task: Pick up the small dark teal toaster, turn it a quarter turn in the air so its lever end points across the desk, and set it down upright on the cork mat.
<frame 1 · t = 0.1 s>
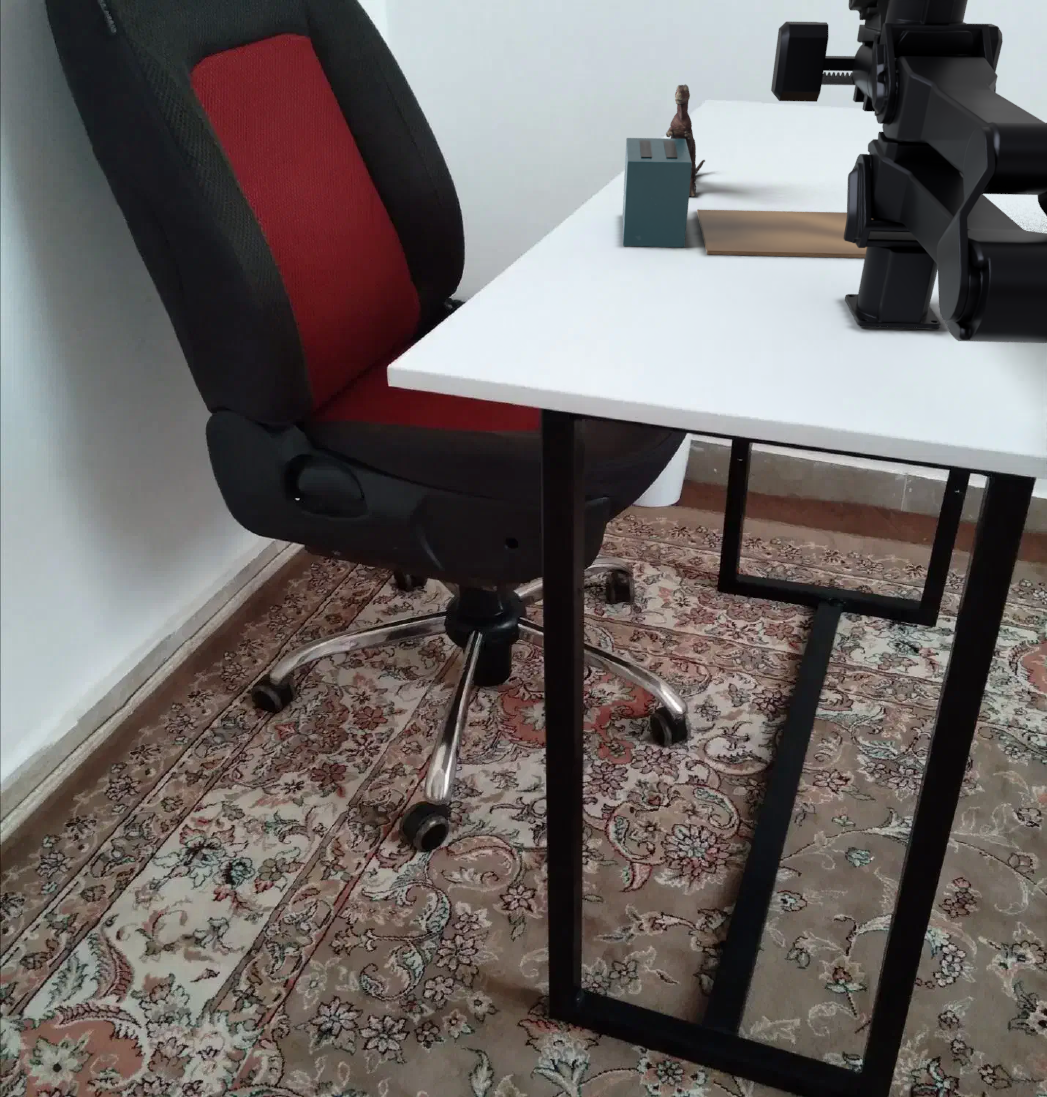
hand: (864, 49, 97), 17 cm above the table, tool horizontal, fingers open, 9 cm apart
mat: (811, 234, 104), on the table
toaster: (652, 231, 105), on the table
dinosaur model: (684, 187, 120), on the table
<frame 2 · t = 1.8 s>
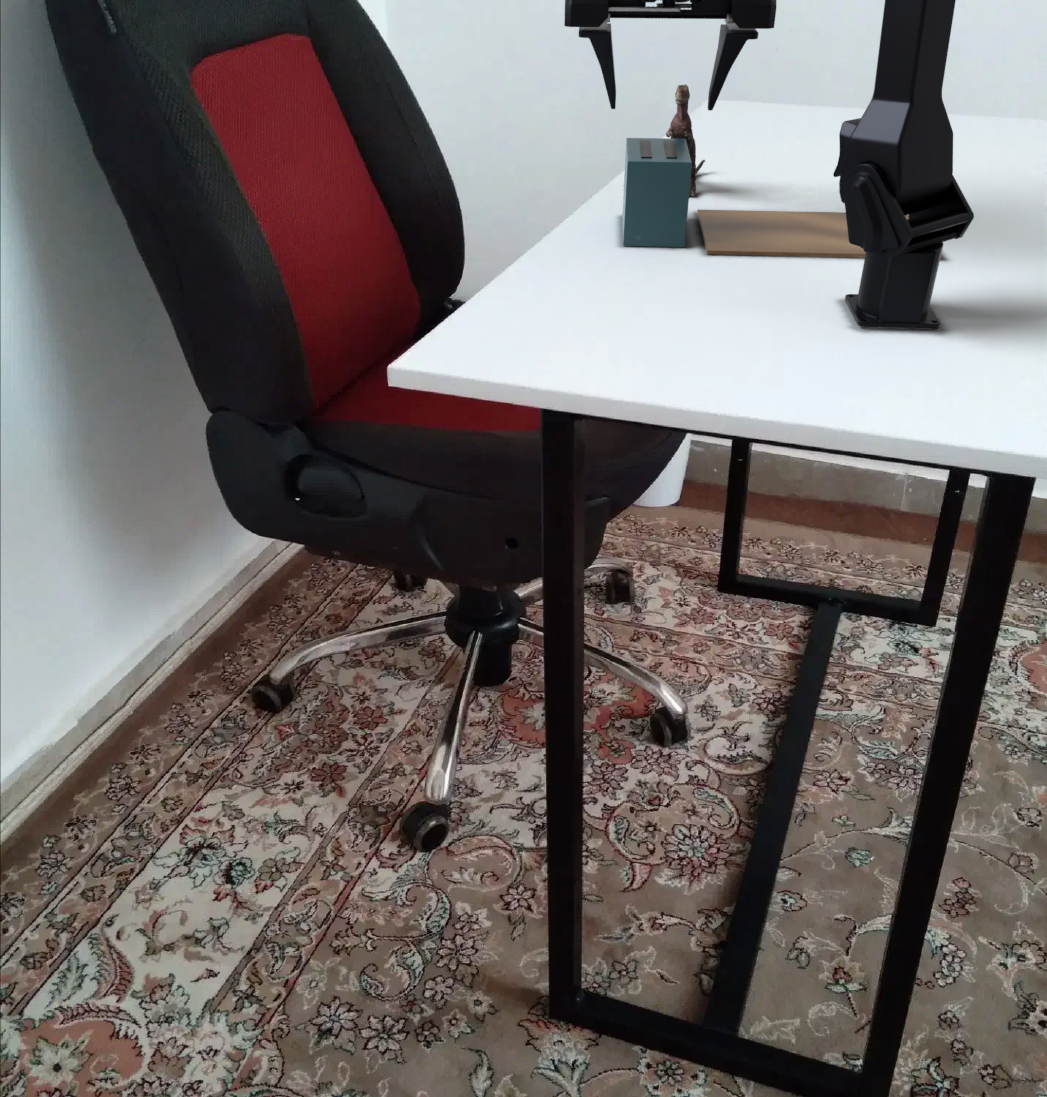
hand: (661, 108, 98), 12 cm above the table, tool pointing down, fingers open, 9 cm apart
nothing on the table moved.
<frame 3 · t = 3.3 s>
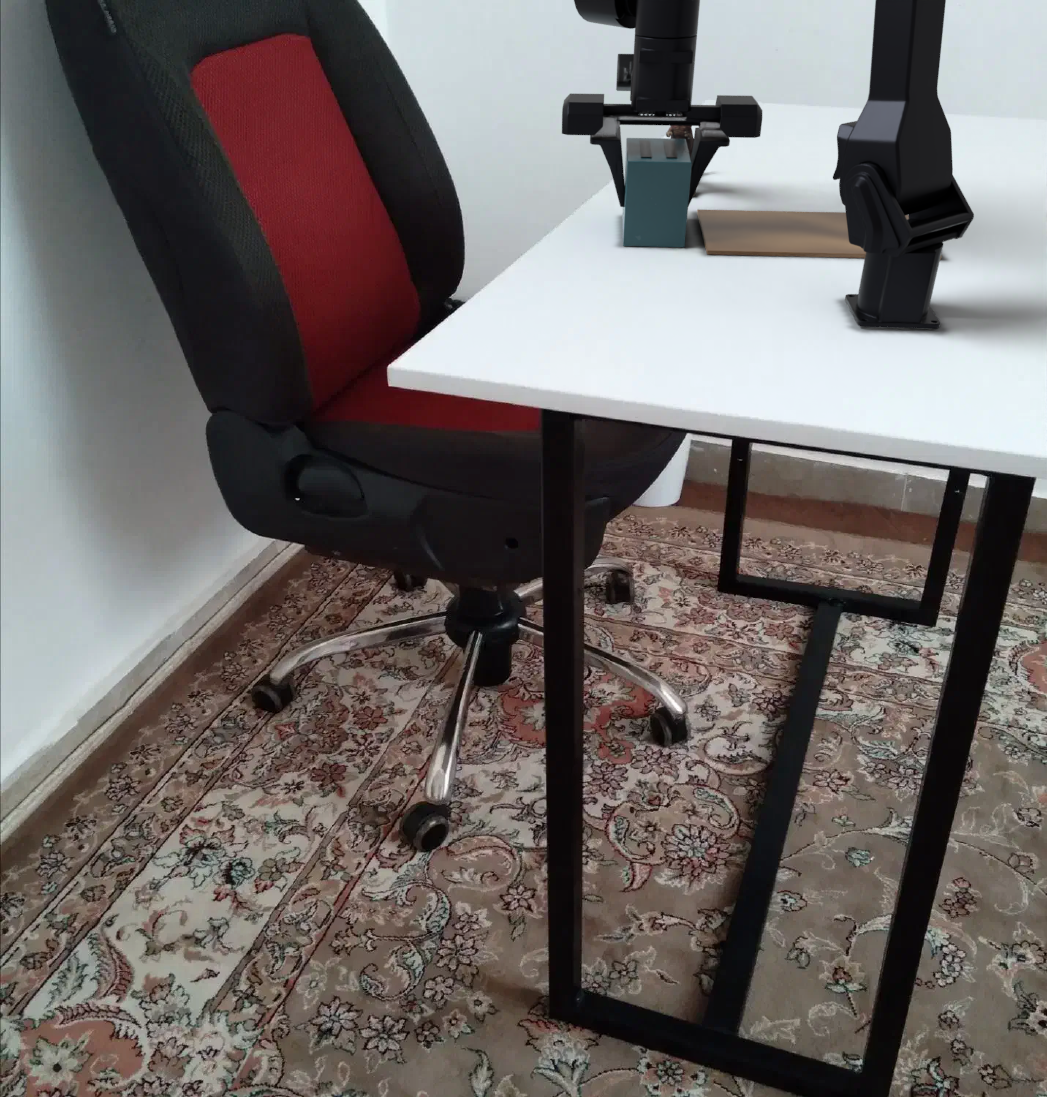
hand: (654, 206, 104), 3 cm above the table, tool pointing down, fingers closed on toaster, 6 cm apart
toaster: (652, 231, 105), on the table, touching gripper
everything else where it was.
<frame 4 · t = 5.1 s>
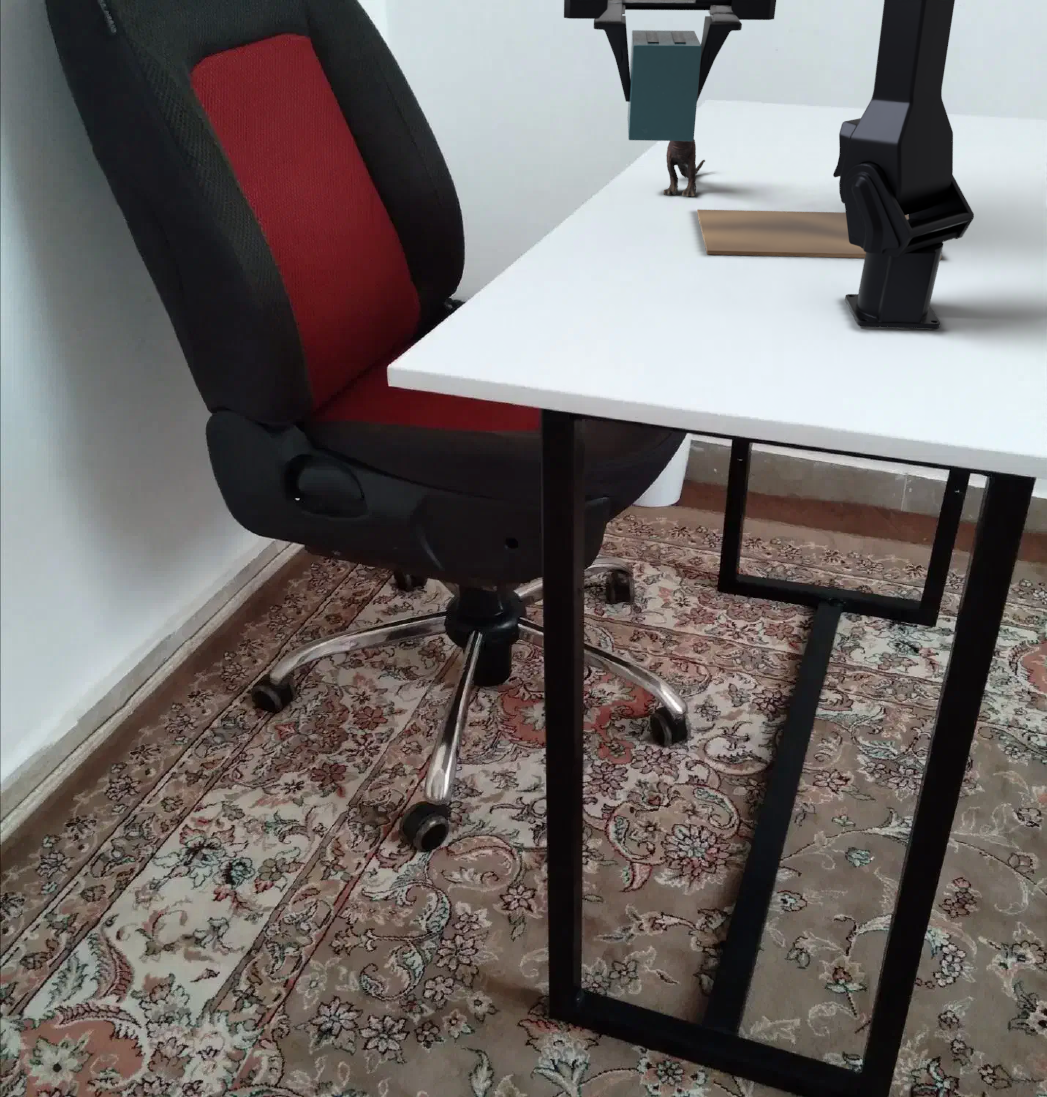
hand: (661, 101, 98), 12 cm above the table, tool pointing down, fingers closed on toaster, 6 cm apart
toaster: (659, 129, 100), point 10 cm above the table, touching gripper
everything else where it was.
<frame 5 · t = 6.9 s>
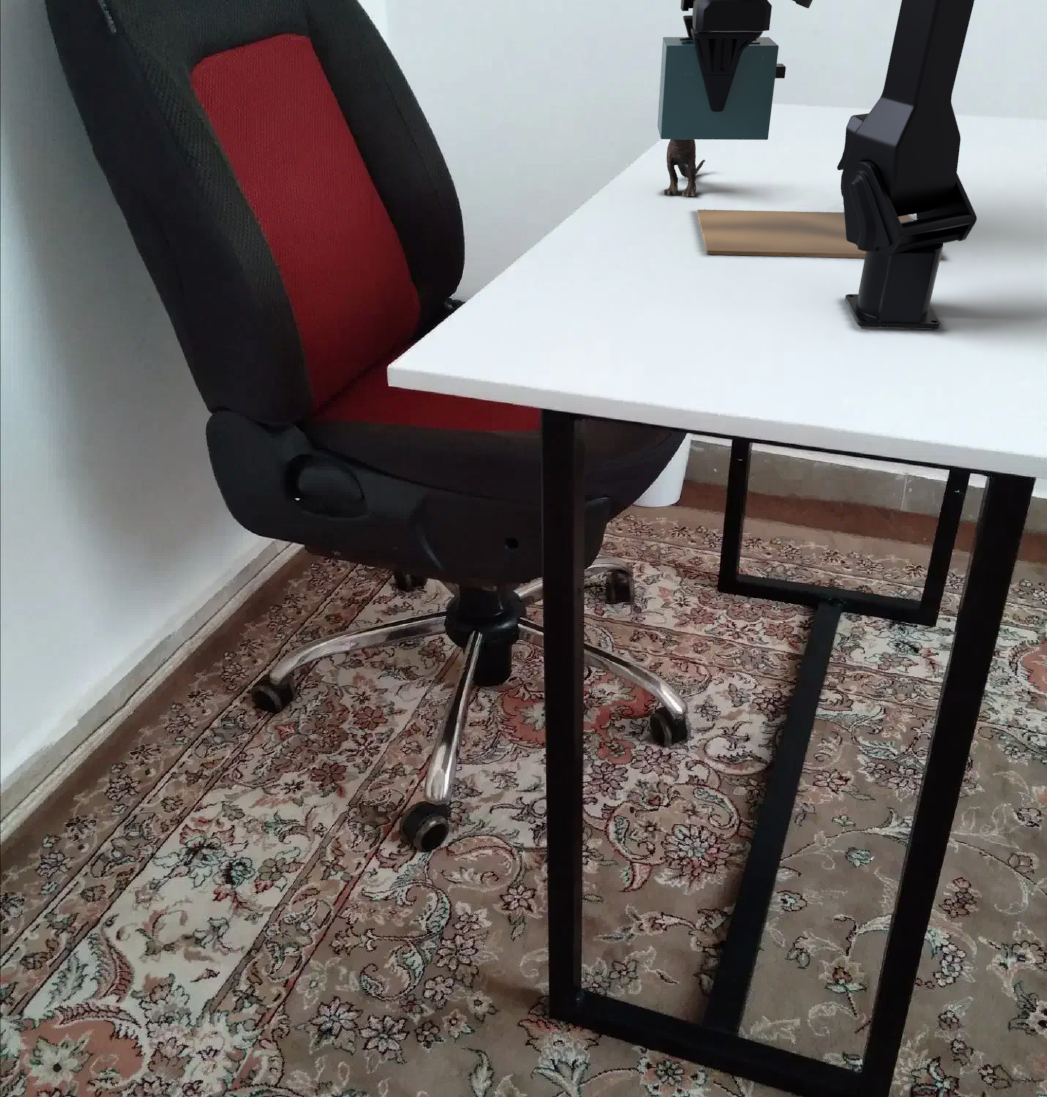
hand: (713, 104, 98), 12 cm above the table, tool pointing down, fingers closed on toaster, 6 cm apart
toaster: (711, 133, 99), point 10 cm above the table, touching gripper
everything else where it was.
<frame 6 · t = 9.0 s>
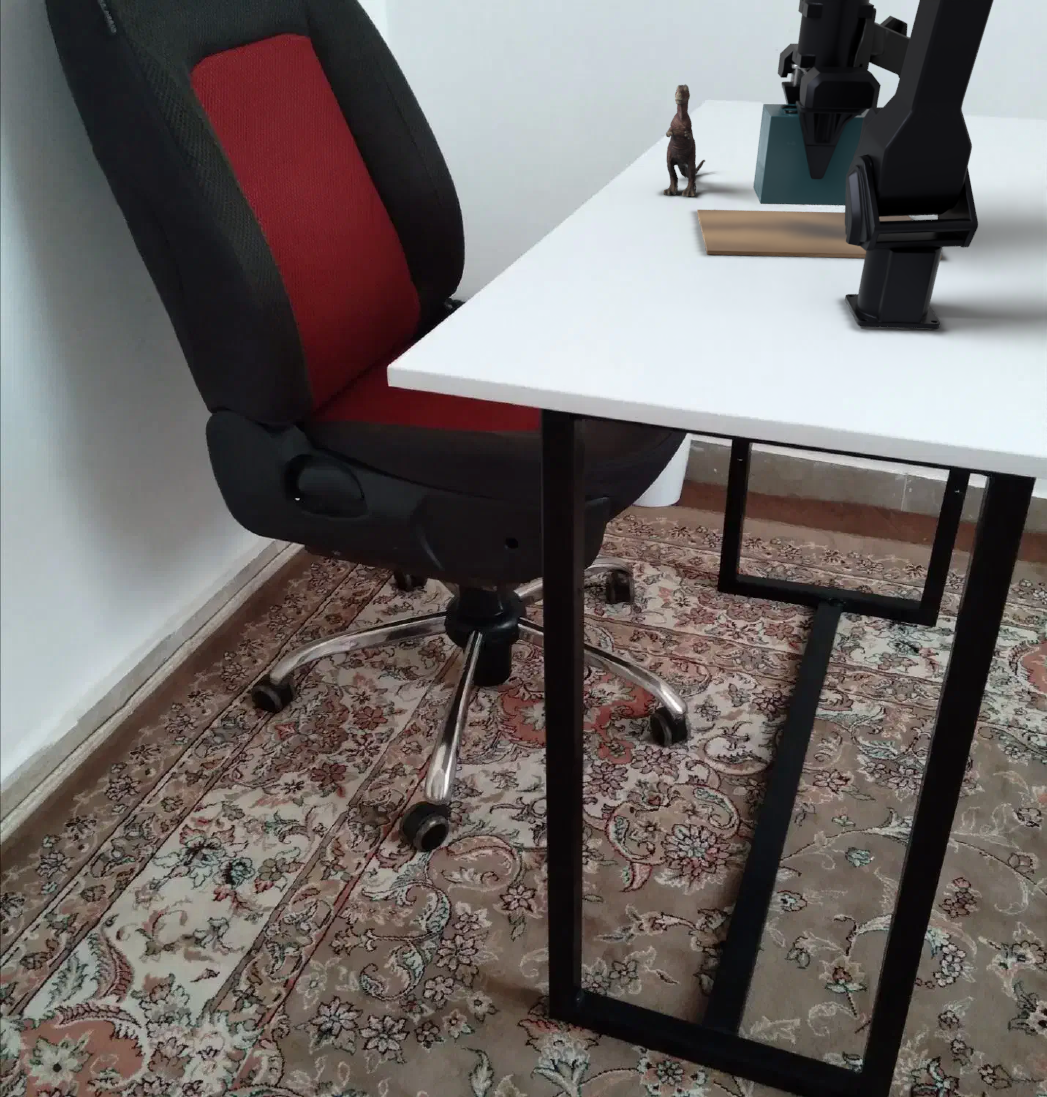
hand: (811, 170, 101), 6 cm above the table, tool pointing down, fingers closed on toaster, 6 cm apart
toaster: (807, 196, 102), point 4 cm above the table, touching gripper
everything else where it was.
when the fingers open (3 cm above the table, at t = 10.4 s): toaster stays where it is, resting on mat.
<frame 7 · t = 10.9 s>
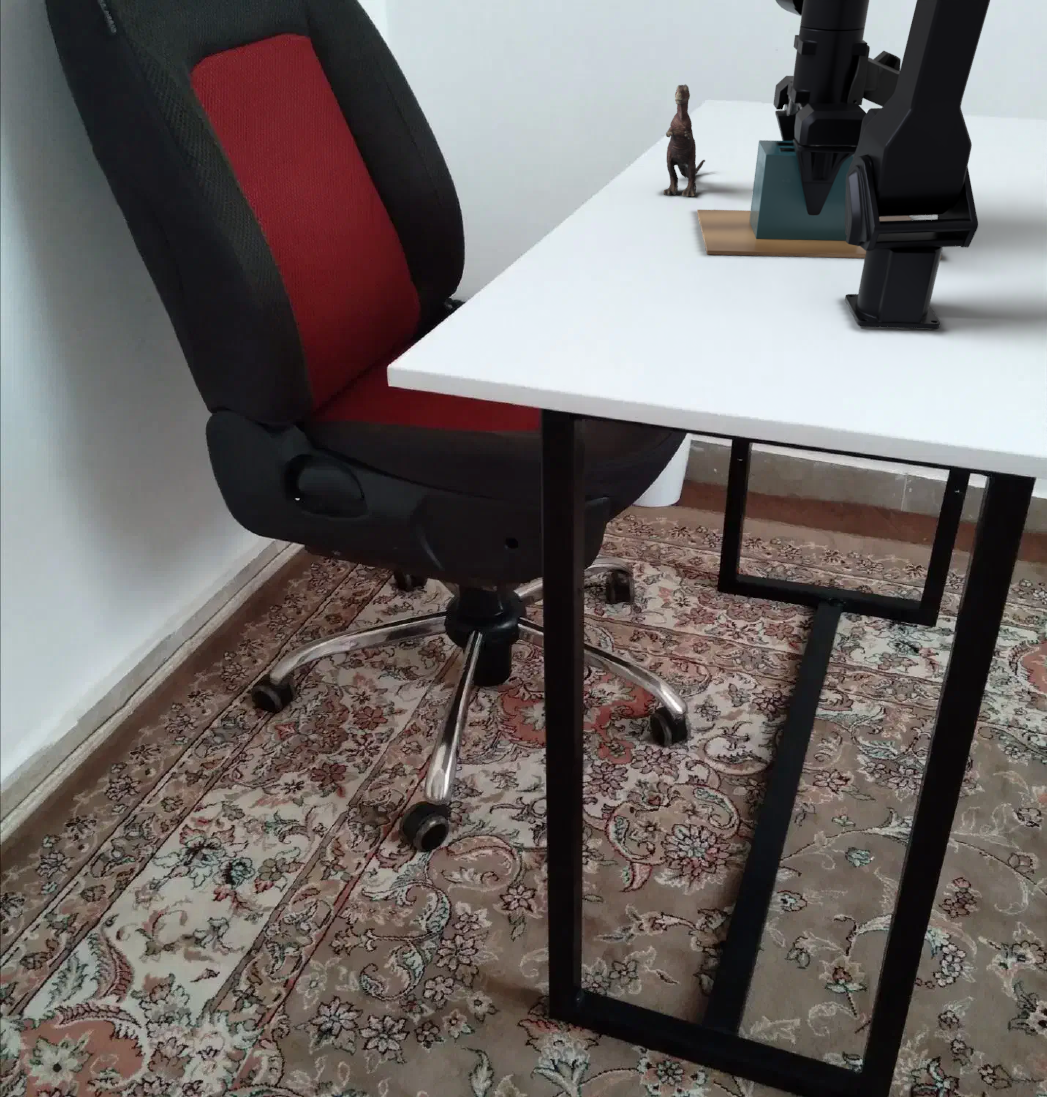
hand: (806, 201, 102), 3 cm above the table, tool pointing down, fingers open, 9 cm apart
toaster: (802, 231, 104), resting on mat
everything else where it was.
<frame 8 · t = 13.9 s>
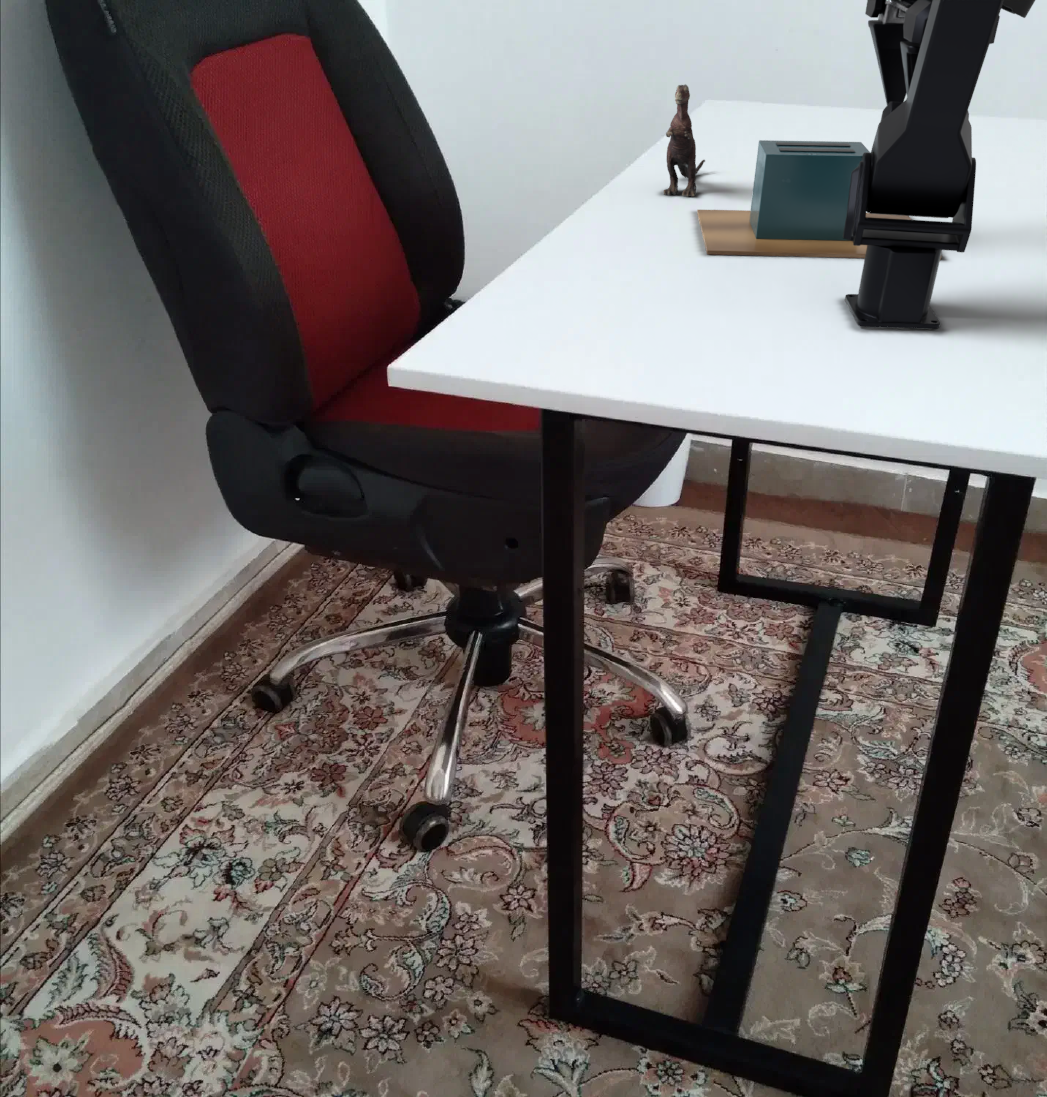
hand: (905, 120, 90), 13 cm above the table, tool pointing down, fingers open, 9 cm apart
nothing on the table moved.
at the end: toaster inside the target area (0.1 cm from its centre), resting on mat; toaster tilted 0°; the gripper is holding nothing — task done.
